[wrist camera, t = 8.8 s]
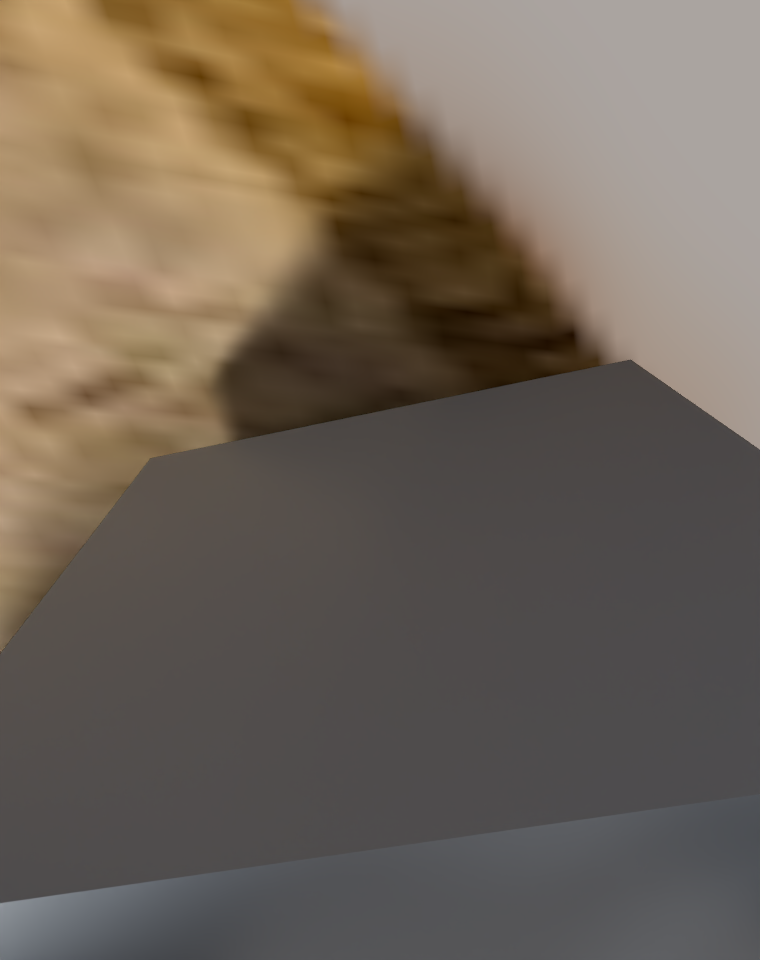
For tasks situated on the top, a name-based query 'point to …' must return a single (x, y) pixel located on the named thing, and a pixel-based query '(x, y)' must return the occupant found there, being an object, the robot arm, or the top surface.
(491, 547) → the gray tilted carton
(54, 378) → the top surface
